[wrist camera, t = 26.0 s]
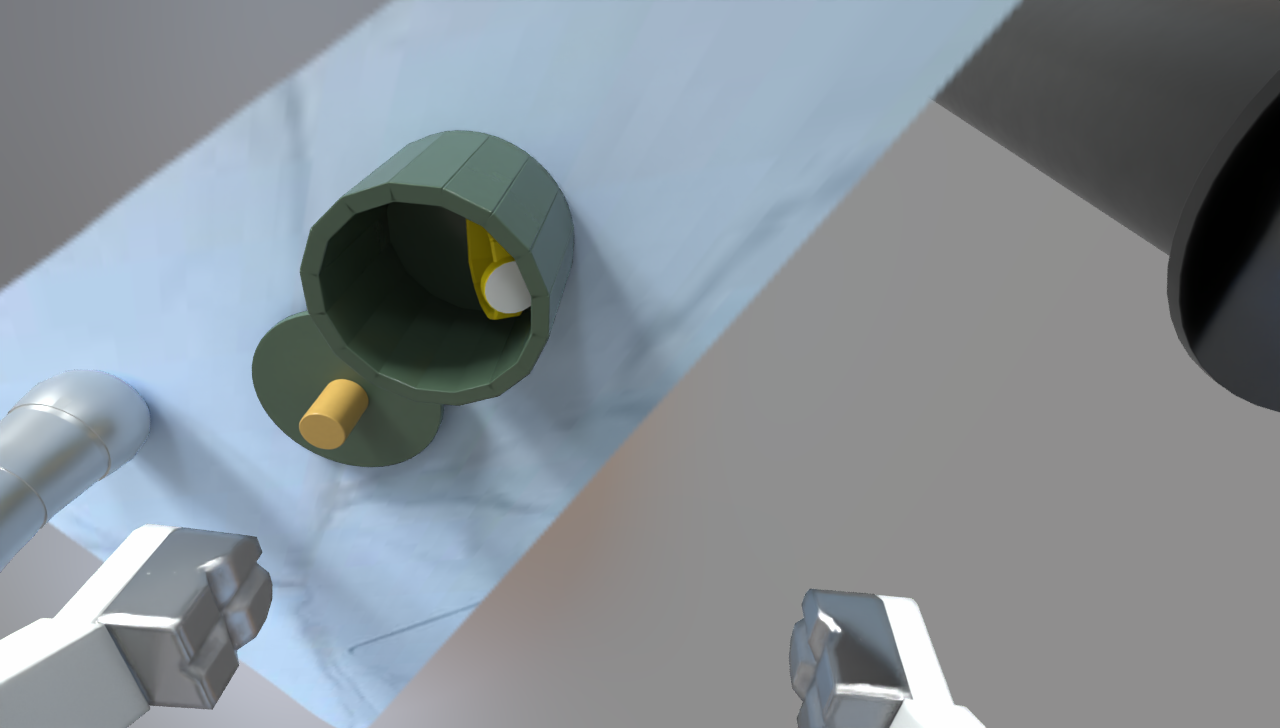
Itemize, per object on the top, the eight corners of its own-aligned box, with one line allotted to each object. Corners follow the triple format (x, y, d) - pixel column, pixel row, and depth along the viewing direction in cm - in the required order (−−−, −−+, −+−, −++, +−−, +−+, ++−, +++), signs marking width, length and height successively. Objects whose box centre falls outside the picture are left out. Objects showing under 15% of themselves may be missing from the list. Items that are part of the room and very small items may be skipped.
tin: (577, 141, 33) (551, 198, 26) (570, 327, 39) (547, 415, 32) (363, 119, 33) (278, 170, 26) (388, 309, 39) (324, 393, 32)
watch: (447, 183, 33) (479, 226, 29) (502, 178, 34) (541, 219, 30) (457, 292, 36) (488, 346, 32) (507, 284, 38) (543, 335, 33)
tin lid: (440, 314, 39) (413, 357, 35) (452, 463, 45) (430, 514, 41) (242, 294, 39) (193, 335, 35) (282, 446, 45) (244, 496, 41)
